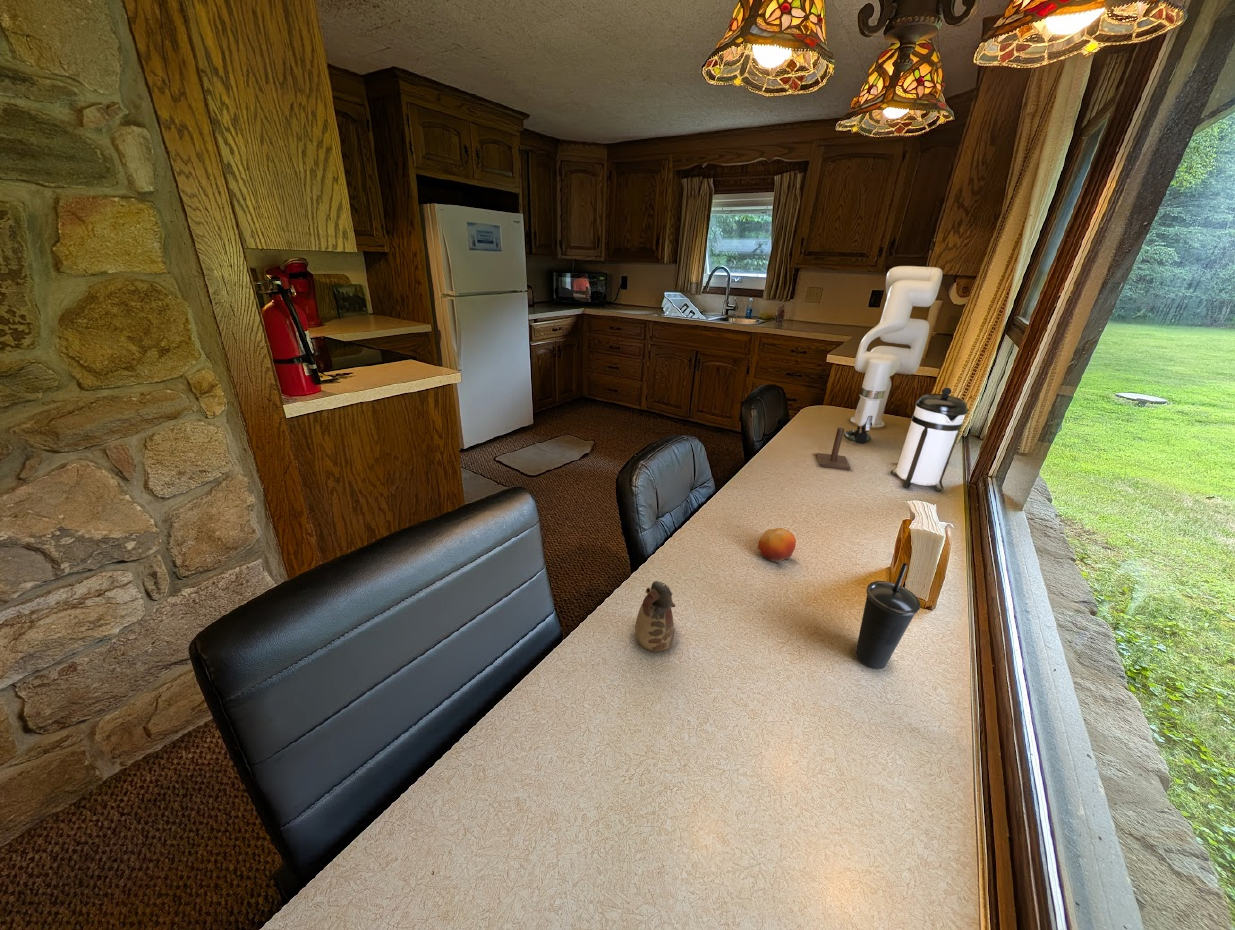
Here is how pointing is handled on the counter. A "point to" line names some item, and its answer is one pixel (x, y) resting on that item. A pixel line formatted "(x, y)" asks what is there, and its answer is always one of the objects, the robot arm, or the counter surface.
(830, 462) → the brown peg stand
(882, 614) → the drinking cup
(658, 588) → the figurine
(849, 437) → the ring
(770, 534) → the fruit
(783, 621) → the counter surface
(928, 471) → the coffee press
